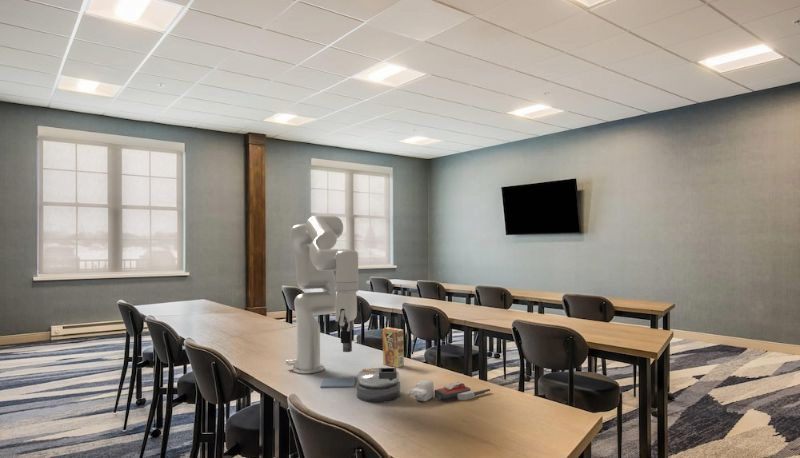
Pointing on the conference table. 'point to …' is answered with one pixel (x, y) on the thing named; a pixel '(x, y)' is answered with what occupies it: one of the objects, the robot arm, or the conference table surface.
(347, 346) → the chuck key
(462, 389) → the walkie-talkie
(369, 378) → the collar
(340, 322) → the robot arm
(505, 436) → the conference table surface
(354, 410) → the conference table surface
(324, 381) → the key mat
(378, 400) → the base
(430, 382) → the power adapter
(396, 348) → the candy box
